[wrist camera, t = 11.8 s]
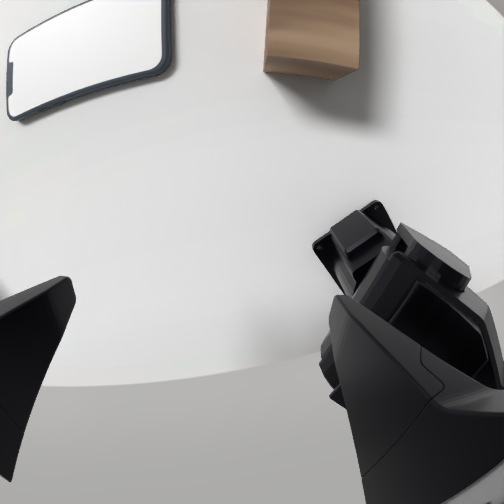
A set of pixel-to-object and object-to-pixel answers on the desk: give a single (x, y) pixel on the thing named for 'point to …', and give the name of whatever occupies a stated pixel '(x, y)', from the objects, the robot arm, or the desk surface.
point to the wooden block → (312, 37)
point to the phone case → (86, 53)
